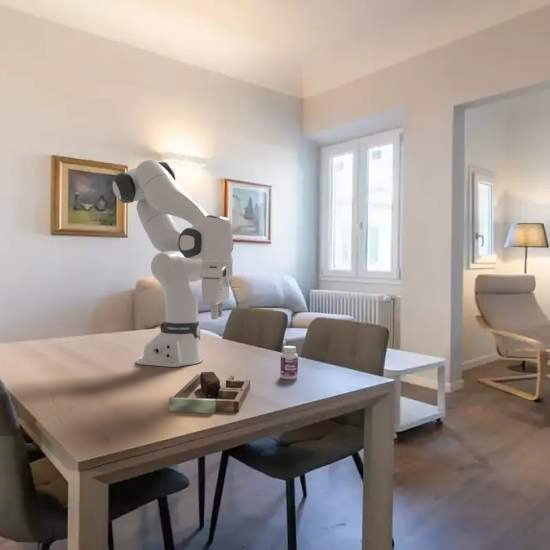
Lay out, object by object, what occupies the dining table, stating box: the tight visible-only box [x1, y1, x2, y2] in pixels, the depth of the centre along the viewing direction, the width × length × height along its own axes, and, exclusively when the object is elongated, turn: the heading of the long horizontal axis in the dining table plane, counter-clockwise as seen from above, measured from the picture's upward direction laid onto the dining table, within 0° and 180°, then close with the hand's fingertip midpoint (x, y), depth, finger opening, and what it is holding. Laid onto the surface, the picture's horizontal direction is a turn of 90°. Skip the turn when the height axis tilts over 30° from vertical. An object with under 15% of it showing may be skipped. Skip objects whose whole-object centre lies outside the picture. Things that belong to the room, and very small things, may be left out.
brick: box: [199, 371, 222, 399], centre depth 127 cm, size 11×4×5 cm, turn 18°
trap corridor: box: [168, 373, 251, 414], centre depth 123 cm, size 16×26×3 cm, turn 175°
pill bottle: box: [279, 345, 299, 380], centre depth 144 cm, size 5×5×10 cm
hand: (216, 317), depth 136 cm, fingers open, 4 cm apart
